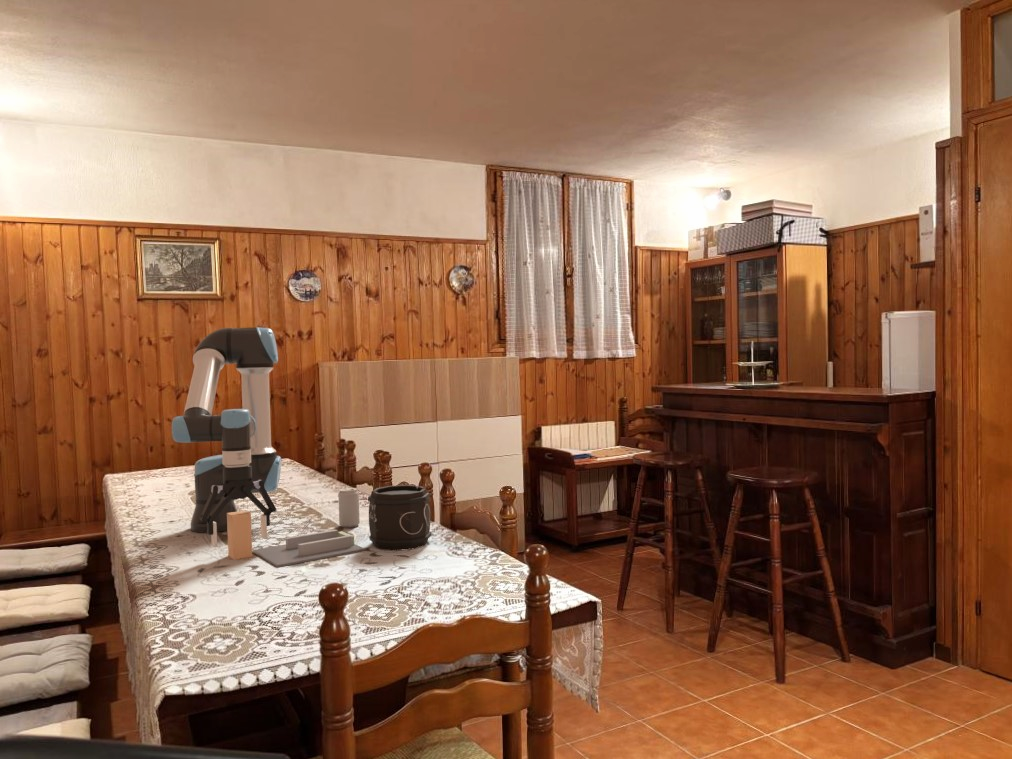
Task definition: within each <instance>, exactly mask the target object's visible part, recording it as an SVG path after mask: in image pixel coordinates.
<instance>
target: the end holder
mask: <svg viewBox="0 0 1012 759" xmlns="http://www.w3.org/2000/svg"><path fill="white" fill-rule="evenodd" d="M365 551H366V548H365V547H363V546H360V545H359V544H356V543H355V536H354V535H352V534H349V533H347V532H345V531H338V529H329V530H324V531H318V532H313V533H307V534H300V535H296V536H295V535H294V536H288V537H285V543H284V544H281V545H280V544H279V545H274V546H268V547H262V548H257V549H252V554H255V555H257V556H258V557H260V558H261V559H262V560H264V561H265V562H267V563H270V564H271V565H273V566H274V567H277V568H279V567H280V568H281V567H286V566H292V565H297V564H302V563H306V562H313V561H318V560H323V559H329V558H333V557H334V558H335V557H338V556H344V555H350V554H354V553H361V552H365Z"/></svg>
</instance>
